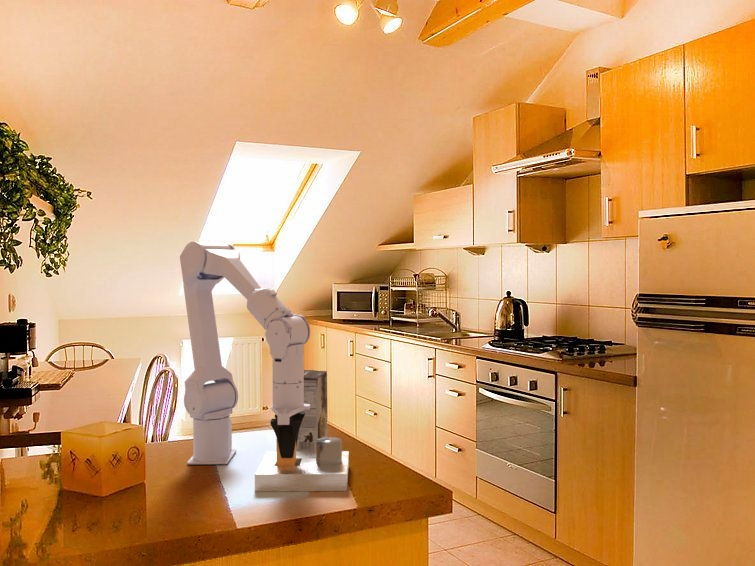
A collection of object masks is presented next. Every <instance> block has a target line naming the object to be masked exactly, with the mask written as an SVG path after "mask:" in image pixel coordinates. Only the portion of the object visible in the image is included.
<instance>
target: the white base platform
mask: <svg viewBox="0 0 755 566" xmlns="http://www.w3.org/2000/svg"><path fill="white" fill-rule="evenodd" d="M342 443H343V440H342V438H339V437H335V436H334V437H332V436H327V437H324V438H319V439H317V440H316V451H296V465H295V466H277V450H275V451H273V450H271V451H270V450H268V451H266V453H265V454H264V456H263V459H262V460H261V462H260V464H259V466H258V467H257V470H256V472H255V474H254V492H348V491H347V490H348V482H349V481H348V479H349V467H350V462H349V461H350V459H349V458H350V457H349V456H350V453H349V452H350V451H348V450H343V444H342Z"/></svg>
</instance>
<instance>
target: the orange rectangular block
mask: <svg viewBox="0 0 755 566" xmlns="http://www.w3.org/2000/svg"><path fill="white" fill-rule="evenodd" d="M276 451H277V466H295V465H296V443H295V450H294V455H293V458H281V455H280V451H279V446H278V441H277V440H276Z"/></svg>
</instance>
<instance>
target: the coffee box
mask: <svg viewBox="0 0 755 566" xmlns="http://www.w3.org/2000/svg"><path fill="white" fill-rule="evenodd" d="M327 372H328V371H327V370H313V369H304V404H310V409H309V410H303V412H305V416H304V418H303V420H302V423H301V425H300V429H299V434H298V440H297V446H296V451H316V440H317V439H319V438H324V437H328V377H327V376H328V373H327Z"/></svg>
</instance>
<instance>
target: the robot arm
mask: <svg viewBox="0 0 755 566" xmlns="http://www.w3.org/2000/svg"><path fill="white" fill-rule="evenodd" d="M179 261H180V268H181V276H182V283H183V293H184V294H183V295H184V299H185V309H186V314H187V315H186V316H187V323H188V330H189V337H190V345H191V353H192V360H193V366H194V367H193V369H194V370H193V372H192V373H191V374H190V375H189V376H188V377H187V378H186V380H185V381H184V389H185V390H184V397H183V405H184V408H185V411H186V412H187V413H188V414H189V418H191V419H192V441H193V444H192V445H193V447H192V448H193V449H192V450H193V454H192V455H191V457H190V459H188V460H187V462H186V464H187V465H227V464H228V463H230V461H231V460H232V458H233V457H234V455H235V454H236V452H237V449H236V448H233V440H232V438H233V435H232V432H233V431H232V430H233V427H232V425H233V424H232V420H231V416H230V415H232V414H233V409H234V408H235V407H236V406H237V404H238V401H239V392H238V388H237V386H236V385H235V382H234V378H233V374H232V372H230V371H229V370H228V369H227V368H226V367H224V366H223V365H222V357H221V352H220V351H221V350H220V343H219V335H218V328H217V327H218V326H217V321H216V313H215V307H214V299H213V293H212V291H213V289H214V288H215V286H216V285H218V284H219V283H220V282H222V281H223V279H225V280H227V282H229V283H230V284H231V285H232V286H233V287H234V288H235V289H236V290H237V291H238V292H239V293H240V294H241V295H242V296H243V297H244V298H245V299H246V300H247V301H246V309H247V311H249V313H250V314H251V315H252V317H254V319H255V320H256V321H257V322H258V324H260V325H261V327H262V328H263V329H264V330H265V332H264V335H265V340H266V343H267V344H268V346H269V354H270V357H271V358H272V404H271V411H272V412H273V413H274V418H271V419H270V426H271V428H272V430H273V431H274V433H275V436H276V442H277V441H278V446H279V451H280V455H281V458H293V455H294V450H295V443H296V446H297V440H298V434H299V429H300V425H301V423H302V420H303V418H304V416H305V412H303V410H309V409H310V404H304V370H305V369H304V367H305V363H304V361H305V359H304V358H305V355H304V354H305V353H304V351H305V344H307V343H308V341H309V339H310V336H311V327H310V324H309V322H308V321H307V319H306V317H305V316H304V315H301V314H295V313H294V312H292V310H291V309H290V308H289V307H287V306H286V305H285V304H284V303H283V301H282V300H281V299H280V298H279V297H278V296H277V295H278V292H277V291H275V290H273V289H270V288H268V287H265V288H262V287H261V286H260V284H259V283H258V282H257V281H256V279H255V278H254V277H253V275H252V274H251V273H250V271H249V270H248V269H247V267H246V266H245V265H244V263H243V262H242V261H241V253H240V252H239V251H238V250H237V249H236V248H235V246H233V244H231V243H229V242H222V243H221V242H219V243H218V242H198V241H194V240H193V241H190V242H188V243H187V244H186V245H185V246H184V248H183V249H182V252H181V253H180V255H179ZM211 381H212V382H211ZM208 382H210V383H208Z"/></svg>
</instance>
